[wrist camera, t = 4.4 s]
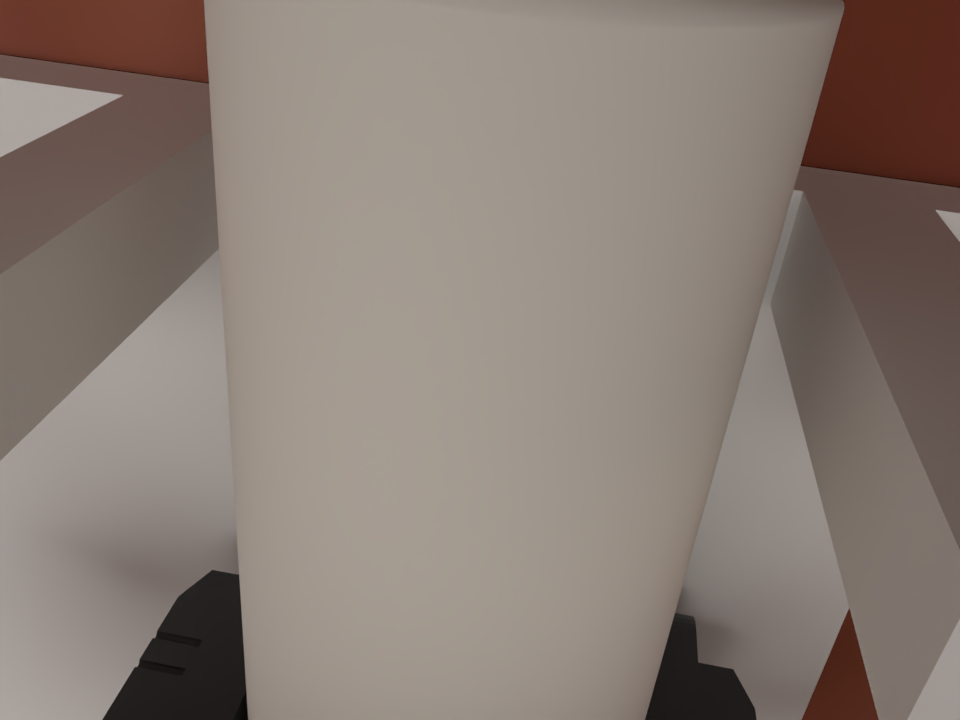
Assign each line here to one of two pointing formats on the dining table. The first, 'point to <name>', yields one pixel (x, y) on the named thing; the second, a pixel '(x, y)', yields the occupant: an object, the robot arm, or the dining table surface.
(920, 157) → the dining table surface
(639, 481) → the banded cream tube
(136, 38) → the dining table surface
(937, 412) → the white pegged rack
